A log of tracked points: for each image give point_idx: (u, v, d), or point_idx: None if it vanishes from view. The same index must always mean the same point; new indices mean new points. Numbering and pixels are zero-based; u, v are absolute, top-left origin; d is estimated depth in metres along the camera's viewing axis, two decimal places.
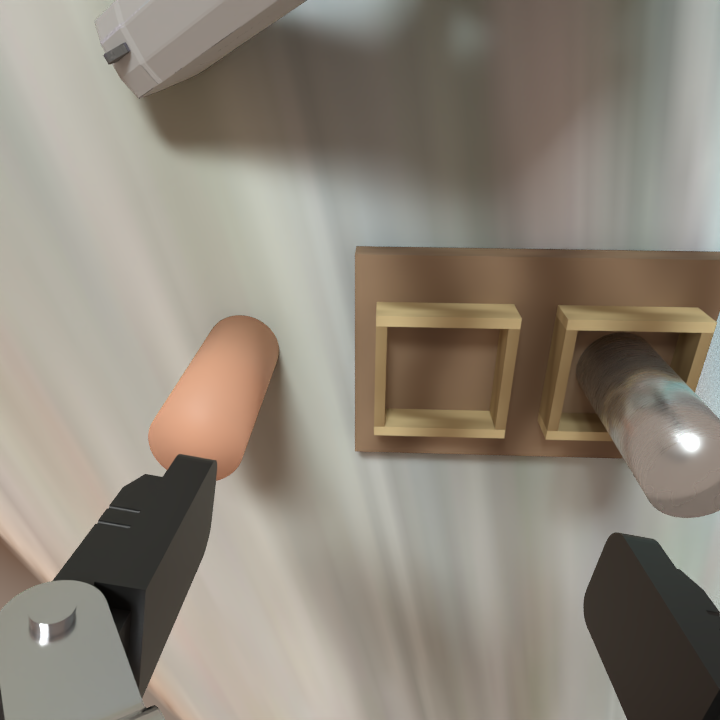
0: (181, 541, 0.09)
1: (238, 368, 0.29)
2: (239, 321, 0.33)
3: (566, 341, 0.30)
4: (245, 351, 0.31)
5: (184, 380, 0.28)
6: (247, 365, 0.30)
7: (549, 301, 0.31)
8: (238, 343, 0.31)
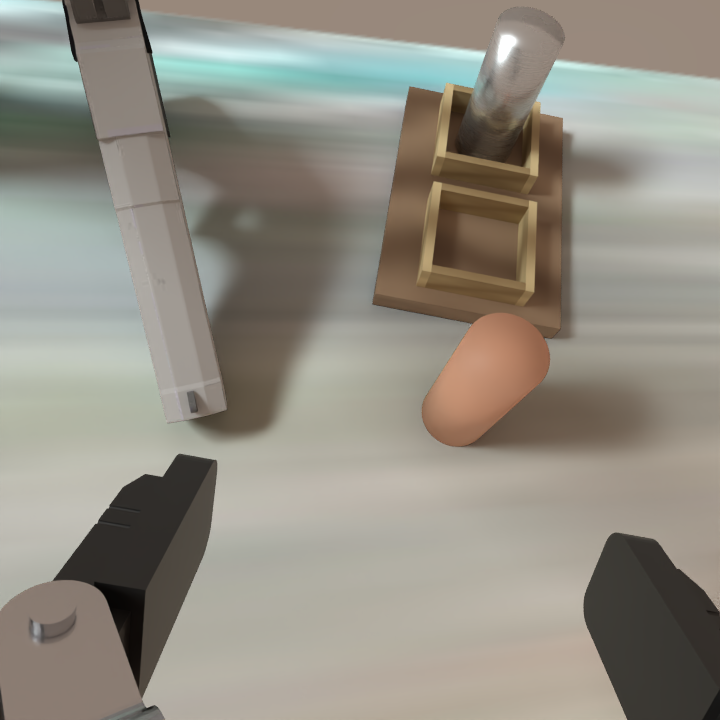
0: (181, 541, 0.09)
1: None
2: (425, 401, 0.37)
3: (454, 158, 0.42)
4: None
5: (454, 383, 0.30)
6: None
7: (427, 179, 0.43)
8: (437, 378, 0.35)
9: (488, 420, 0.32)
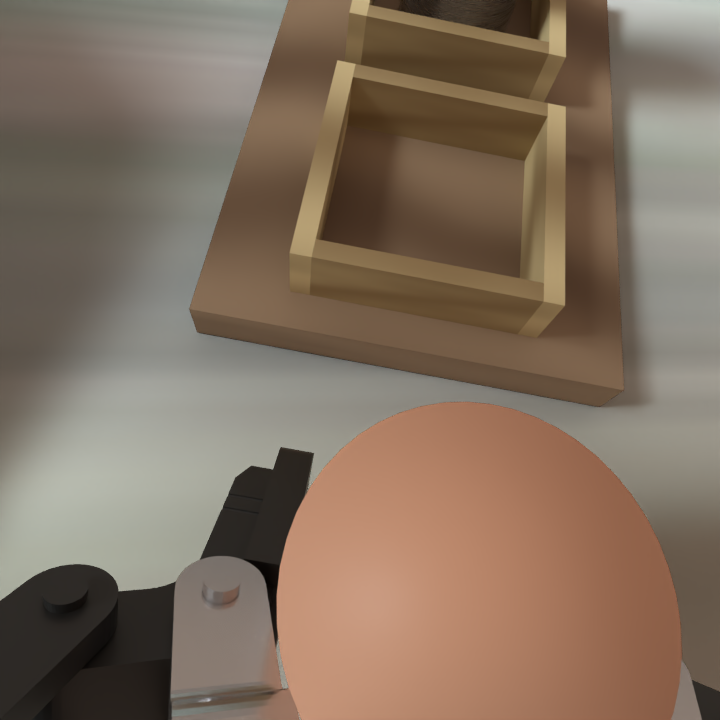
0: None
1: None
2: None
3: (386, 18, 0.20)
4: None
5: None
6: None
7: None
8: None
9: None
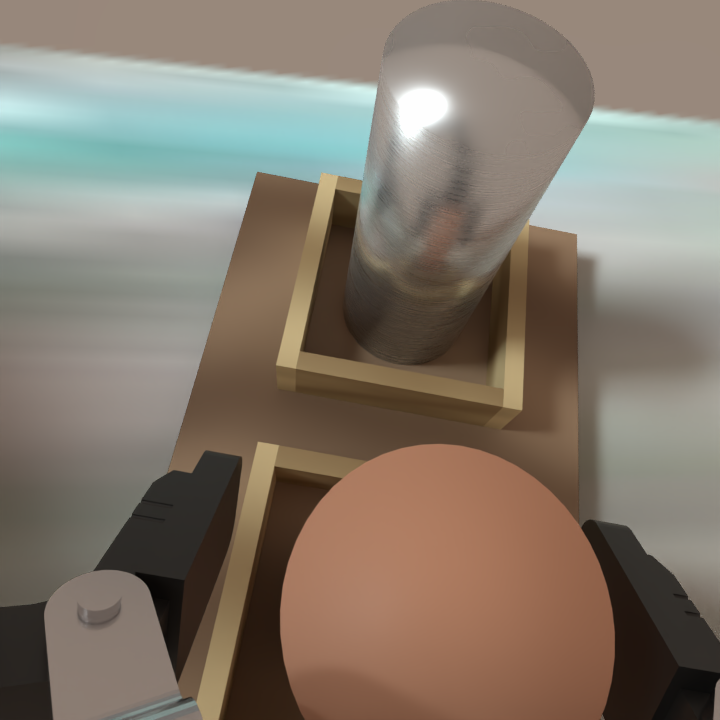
0: (212, 534, 0.09)
1: None
2: None
3: (318, 369, 0.17)
4: None
5: None
6: None
7: (268, 401, 0.19)
8: None
9: None
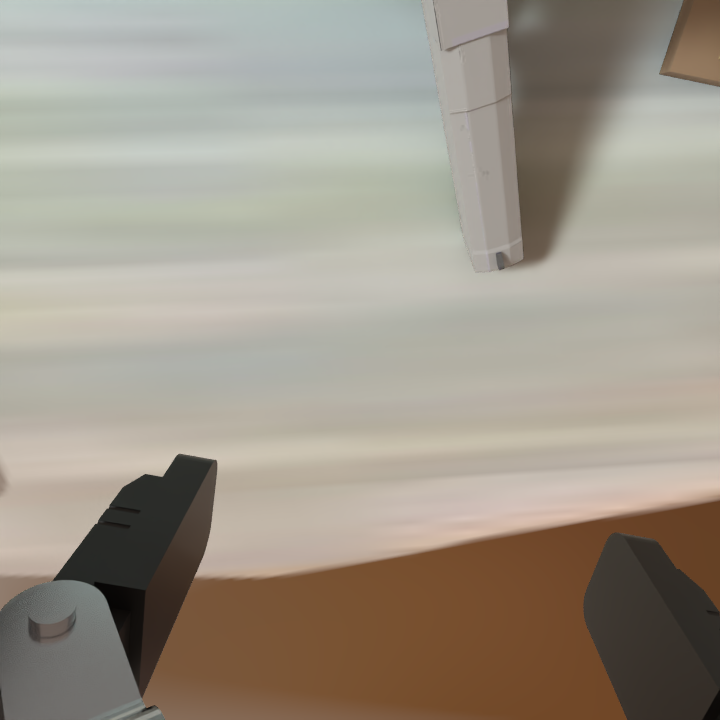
0: (181, 541, 0.09)
1: None
2: None
3: None
4: None
5: None
6: None
7: None
8: None
9: None
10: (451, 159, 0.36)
